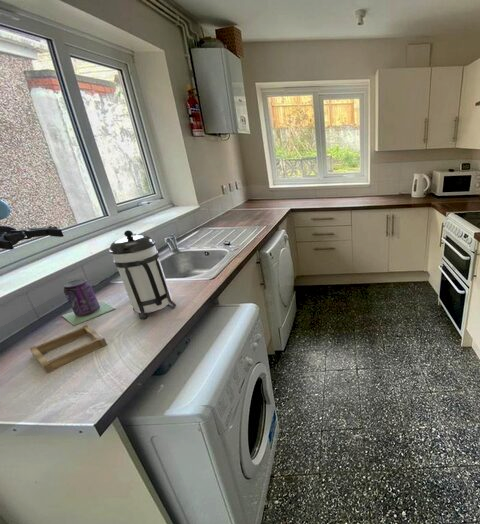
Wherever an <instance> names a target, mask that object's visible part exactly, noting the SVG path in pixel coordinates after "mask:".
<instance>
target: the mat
mask: <svg viewBox="0 0 480 524" xmlns="http://www.w3.org/2000/svg"><path fill="white" fill-rule="evenodd" d="M98 303H99V305H100V308H99V309H98V310H97V311H95V312H94V313H91V314H89V315H84V316H78V315H75V313H74V311H73V310H72V311H71V312H68V313H65V314H62V315H61V317H62V318H64V319H65V320H66V321H67V322H68V323H70V324H71V325H72V326H73V327H75V326H78V325H80V324H82V323H85V322H87V321H89V320H92V319H95V318H97V317H99V316H102V315H105V314H107V313H109V312H112V311H114V310H116V308H115V307H114V306H112V305H110V304H108V303H107V302H105V301H103V300H100V301H98Z"/></svg>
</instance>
